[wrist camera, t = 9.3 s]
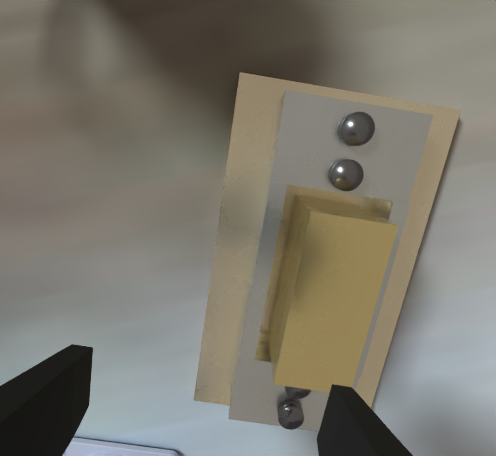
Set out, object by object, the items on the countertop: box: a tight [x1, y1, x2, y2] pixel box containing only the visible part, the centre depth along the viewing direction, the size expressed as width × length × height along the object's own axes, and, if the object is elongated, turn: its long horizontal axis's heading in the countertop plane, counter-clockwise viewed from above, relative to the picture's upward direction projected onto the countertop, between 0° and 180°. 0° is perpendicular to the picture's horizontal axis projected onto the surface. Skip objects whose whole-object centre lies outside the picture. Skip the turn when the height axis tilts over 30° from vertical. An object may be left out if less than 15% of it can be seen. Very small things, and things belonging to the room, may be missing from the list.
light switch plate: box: [194, 72, 461, 431], centre depth 17 cm, size 19×11×3 cm, turn 171°
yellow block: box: [268, 195, 398, 392], centre depth 16 cm, size 8×4×4 cm, turn 171°
